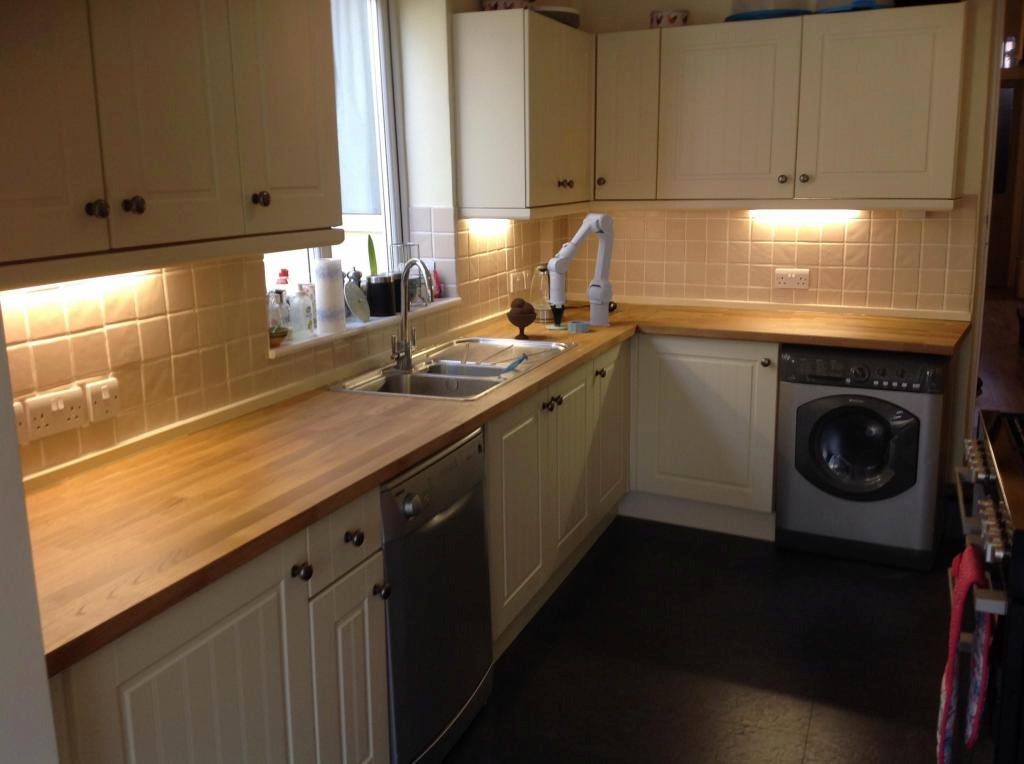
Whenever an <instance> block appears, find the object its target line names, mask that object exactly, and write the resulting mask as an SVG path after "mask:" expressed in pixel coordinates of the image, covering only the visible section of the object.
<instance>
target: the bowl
mask: <svg viewBox="0 0 1024 764" xmlns="http://www.w3.org/2000/svg"><path fill="white" fill-rule="evenodd" d="M589 322H590V321H585V320H569V321H567V325H568V329H567V332H568V333H572V334H582V333H583V334H584V333H585V334H586V333H589V332H590V324H589Z"/></svg>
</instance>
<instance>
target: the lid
mask: <svg viewBox="0 0 1024 764" xmlns="http://www.w3.org/2000/svg"><path fill="white" fill-rule="evenodd" d="M553 323H554V322H553ZM545 329H546V330H548V331H567V330H568V324H562V323H561V324H560V325H555V323H554V324H547V325H545ZM566 329H567V330H566Z"/></svg>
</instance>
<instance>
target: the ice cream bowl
mask: <svg viewBox="0 0 1024 764" xmlns="http://www.w3.org/2000/svg"><path fill="white" fill-rule="evenodd" d="M537 314H538V313H537V312H536V311H535V307H534V305H533V304H532V303H530V302H528V301H525V299H524V298H522V297H516V298H514V299H512V301H511V302H510V310H509V312H507V313H506V316H507V320H508V321H509V322H510V323H511V324H512V325H513V326H515V327H516V328H518V329H519V333H518V335H516V336H514V340H518V341H523V340H524V341H525V340H529V339H530V336H528V335H526V333H525V328H527V327H529V326H531V325H532V324H533V323H534V322H535V321H536V318H537V316H538V315H537Z"/></svg>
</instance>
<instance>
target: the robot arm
mask: <svg viewBox="0 0 1024 764" xmlns="http://www.w3.org/2000/svg"><path fill="white" fill-rule="evenodd" d="M593 233H594V234H596V235H597V237H598V239H599V240H598V241H599V242H598V248H597V255H596V263H595V270H594V278H593V279H592V280H590V282H589V286H588V288H587V289H586V297H587V299H588V300H589V305H590V309H589V314H590V315H589V318H590V320H589V321H588V322H589V326H607V327H611V324H610V323H609V304H610V302H611V301H612V299H613V290H612V287H613V285H612V283H611V281H610V280H609V275H610V269H611V260H612V254H613V246H614V239H615V232H614V220H613V218H612V217H611V215H609V214H608V213H595V212H590V213H588V214H587V215H586V217H585V218H584V219H583V221H582V225H581V226H580V228H578V231H577V232H576V234H575V235H574V236H573V237H572V239H571V241H568V242H566V243H563V244H562V245H561V246H562V247H561V249H560V250H559V251H558V253H556V254H555V256H554V257H551V258H550V260H549V261H548V263H547V264H546V267H547V268H546V269H547V270H548V272H549V282H550V283H549V297H550V298H549V299H548V300H546V303H547V304H552V305H549V307H550V311H551V314H552V319H553V323H555V325H560V324H561V325H562V319H563V314H564V312H565V310H566V306H565V303H566V272H567V271H568V270H569V266H570V263H571V261H572V260H573V259H574V258H575V256H576V255H577V254H578V252H579V249H578V248H579V246H580V245H582V243H583V242H584V241H585V240H586V239H587V237H588V236H589V235H591V234H593Z"/></svg>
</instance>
